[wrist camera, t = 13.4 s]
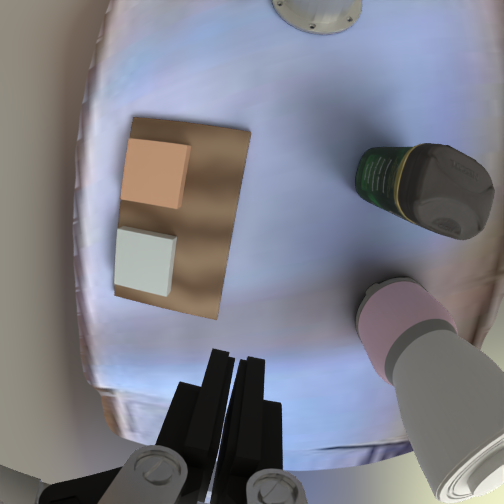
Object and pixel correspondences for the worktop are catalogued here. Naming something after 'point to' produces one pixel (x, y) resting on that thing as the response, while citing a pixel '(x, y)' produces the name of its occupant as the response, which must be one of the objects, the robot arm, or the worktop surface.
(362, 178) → the coffee jar
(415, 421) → the blender
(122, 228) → the grey-blue tile
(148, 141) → the terracotta tile
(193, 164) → the walnut board
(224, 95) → the worktop surface
